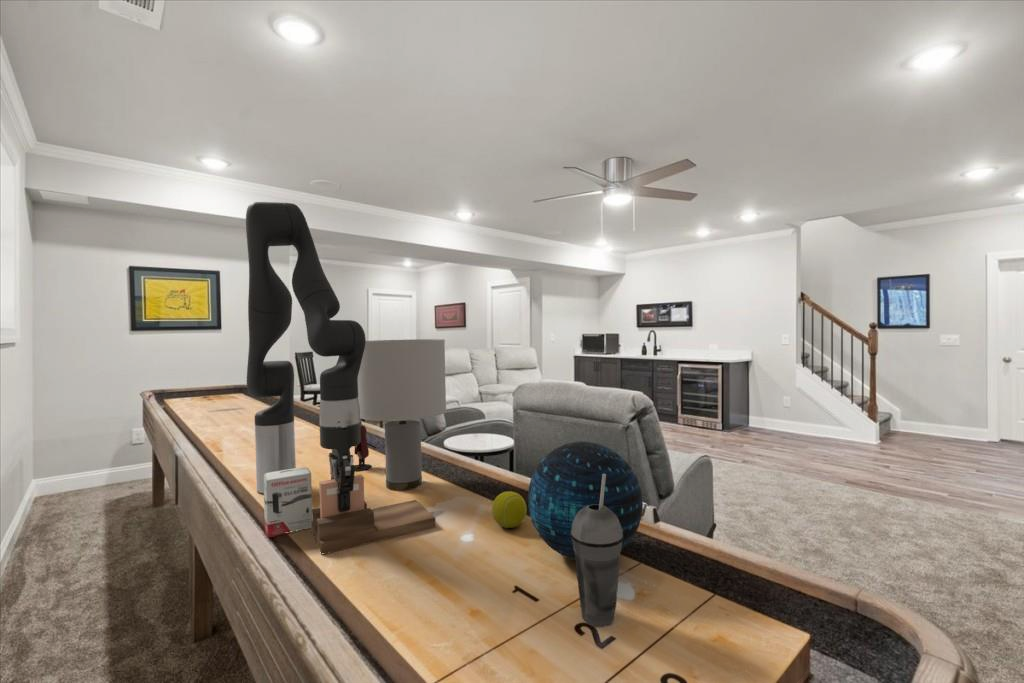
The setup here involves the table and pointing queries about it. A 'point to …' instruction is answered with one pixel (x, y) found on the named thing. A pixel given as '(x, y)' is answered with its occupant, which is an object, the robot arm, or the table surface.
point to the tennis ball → (509, 509)
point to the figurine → (362, 450)
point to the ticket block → (369, 525)
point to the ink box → (287, 501)
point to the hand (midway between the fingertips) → (342, 507)
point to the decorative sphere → (581, 492)
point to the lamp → (402, 399)
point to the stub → (331, 500)
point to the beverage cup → (597, 560)
